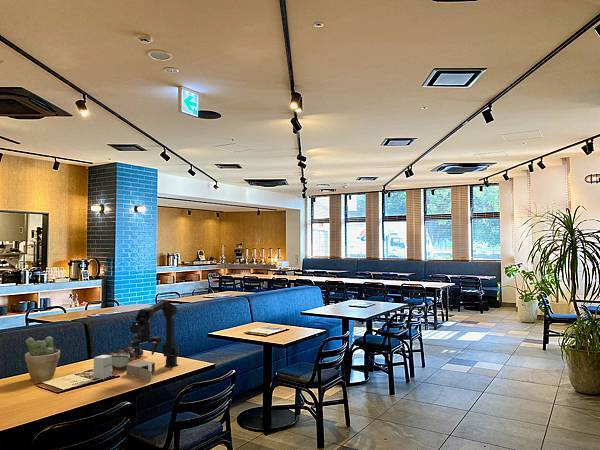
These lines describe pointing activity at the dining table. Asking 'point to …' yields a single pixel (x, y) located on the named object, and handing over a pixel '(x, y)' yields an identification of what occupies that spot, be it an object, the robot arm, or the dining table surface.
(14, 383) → the dining table surface
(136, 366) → the carton
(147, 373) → the end flap
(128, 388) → the dining table surface
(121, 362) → the food container
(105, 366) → the supplement box
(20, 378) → the dining table surface
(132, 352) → the tray of pastries
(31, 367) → the potted plant
